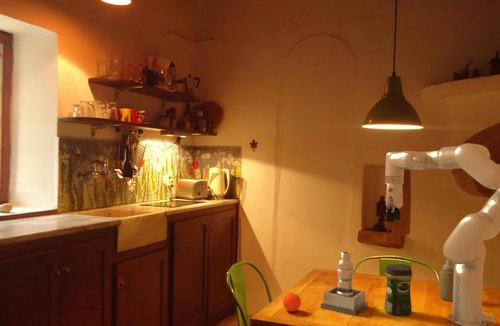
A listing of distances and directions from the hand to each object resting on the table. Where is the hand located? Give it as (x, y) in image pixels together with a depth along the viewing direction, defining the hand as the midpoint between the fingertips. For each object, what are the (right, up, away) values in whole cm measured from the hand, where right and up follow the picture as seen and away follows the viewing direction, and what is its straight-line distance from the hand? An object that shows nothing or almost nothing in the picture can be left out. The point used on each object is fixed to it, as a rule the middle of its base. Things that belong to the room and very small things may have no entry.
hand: (393, 220), depth 180 cm
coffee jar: (-4, -33, -17) cm, 38 cm away
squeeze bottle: (+24, -34, +2) cm, 42 cm away
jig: (-24, -32, -13) cm, 42 cm away
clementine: (-45, -32, -19) cm, 58 cm away
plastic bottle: (-24, -31, -13) cm, 41 cm away
